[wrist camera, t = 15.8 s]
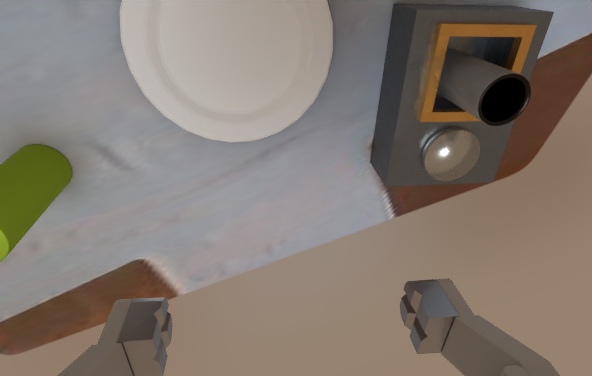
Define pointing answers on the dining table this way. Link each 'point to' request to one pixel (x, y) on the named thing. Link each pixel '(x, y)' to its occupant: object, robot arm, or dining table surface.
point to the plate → (229, 61)
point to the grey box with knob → (437, 109)
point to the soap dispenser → (28, 190)
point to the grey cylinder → (483, 88)
